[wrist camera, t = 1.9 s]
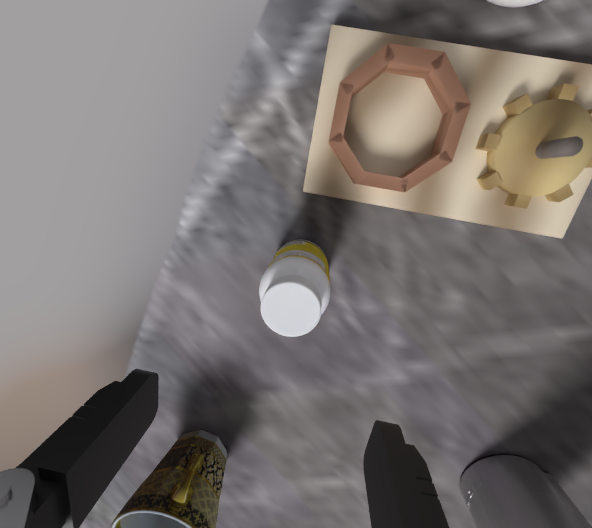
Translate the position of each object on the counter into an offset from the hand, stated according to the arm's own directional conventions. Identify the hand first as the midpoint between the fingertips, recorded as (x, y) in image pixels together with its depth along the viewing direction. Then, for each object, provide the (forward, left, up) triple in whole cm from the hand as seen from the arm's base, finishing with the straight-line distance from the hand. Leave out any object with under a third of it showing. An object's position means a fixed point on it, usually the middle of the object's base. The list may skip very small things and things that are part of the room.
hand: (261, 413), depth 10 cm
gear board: (-10, -13, -18) cm, 24 cm away
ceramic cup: (+8, +26, -18) cm, 33 cm away
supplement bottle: (0, 0, -18) cm, 18 cm away
